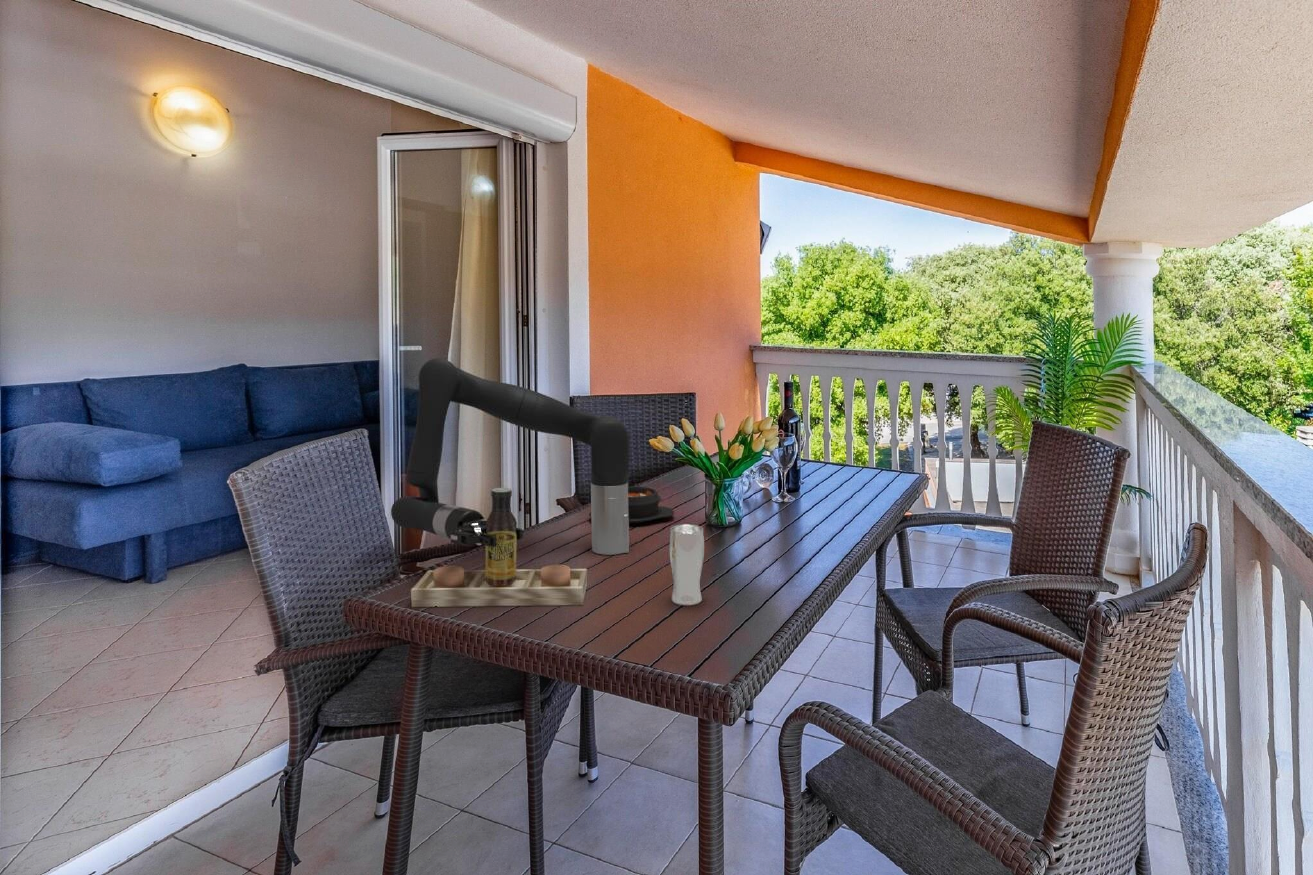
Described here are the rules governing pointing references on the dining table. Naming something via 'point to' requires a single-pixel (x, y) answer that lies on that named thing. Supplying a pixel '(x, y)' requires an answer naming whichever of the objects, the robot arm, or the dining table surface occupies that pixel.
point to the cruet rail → (500, 588)
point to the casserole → (645, 505)
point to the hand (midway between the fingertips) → (508, 538)
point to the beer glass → (686, 563)
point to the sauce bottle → (501, 540)
